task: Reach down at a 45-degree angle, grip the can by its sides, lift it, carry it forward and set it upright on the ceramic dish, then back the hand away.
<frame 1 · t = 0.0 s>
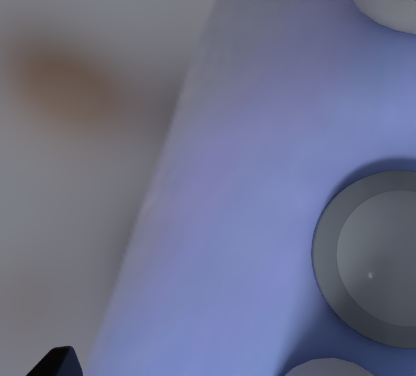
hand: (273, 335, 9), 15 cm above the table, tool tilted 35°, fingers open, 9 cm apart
dish: (396, 256, 23), on the table
donut: (396, 18, 25), on the table
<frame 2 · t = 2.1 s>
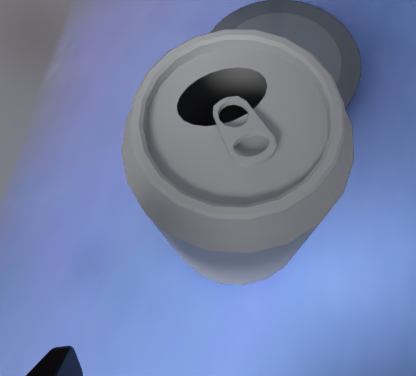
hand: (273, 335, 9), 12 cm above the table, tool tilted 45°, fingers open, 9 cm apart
dish: (277, 71, 25), on the table
can: (236, 220, 22), on the table
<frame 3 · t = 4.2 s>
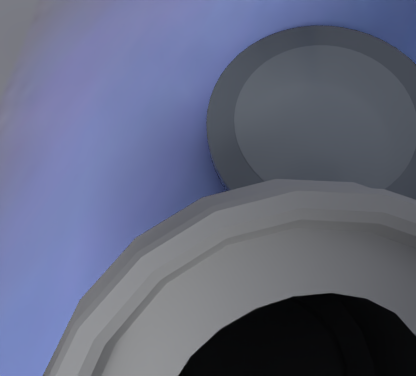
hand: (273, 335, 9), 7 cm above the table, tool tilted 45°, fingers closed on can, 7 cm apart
dish: (318, 130, 18), on the table
can: (263, 371, 15), on the table, touching gripper
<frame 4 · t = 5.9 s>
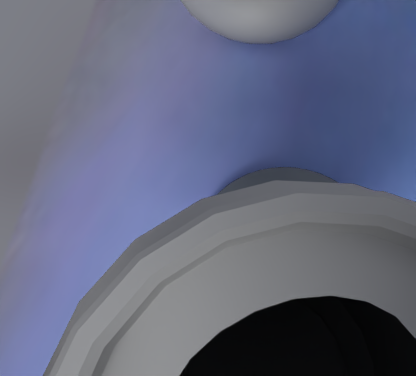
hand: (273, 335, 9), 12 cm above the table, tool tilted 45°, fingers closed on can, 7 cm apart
dish: (285, 260, 21), on the table
donut: (252, 35, 26), on the table
can: (263, 371, 15), point 5 cm above the table, touching gripper
when the fingers open (9 cm above the table, at t = 7.5 s): can stays where it is, resting on dish.
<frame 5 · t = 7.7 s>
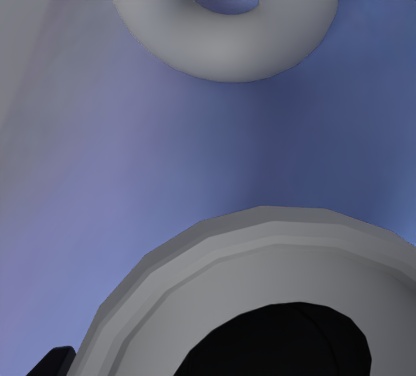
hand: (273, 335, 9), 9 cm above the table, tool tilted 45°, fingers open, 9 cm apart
donut: (224, 70, 22), on the table
can: (261, 373, 16), point 1 cm above the table, touching dish
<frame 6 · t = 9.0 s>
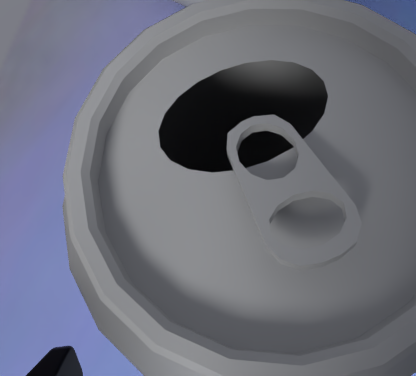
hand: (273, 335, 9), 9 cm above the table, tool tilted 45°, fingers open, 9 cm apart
donut: (218, 5, 23), on the table
can: (248, 265, 17), point 1 cm above the table, touching dish
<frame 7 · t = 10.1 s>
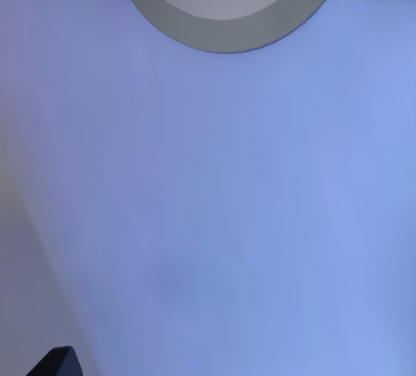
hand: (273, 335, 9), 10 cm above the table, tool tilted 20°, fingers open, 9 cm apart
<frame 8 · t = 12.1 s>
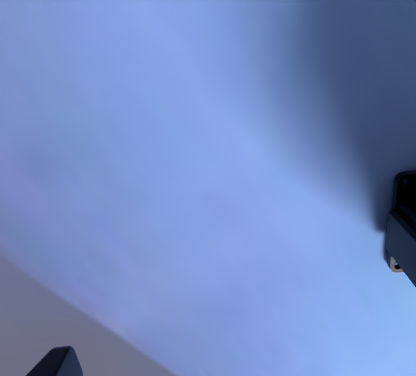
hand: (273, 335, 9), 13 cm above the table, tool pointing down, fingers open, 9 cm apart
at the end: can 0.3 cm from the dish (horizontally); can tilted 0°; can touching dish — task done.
